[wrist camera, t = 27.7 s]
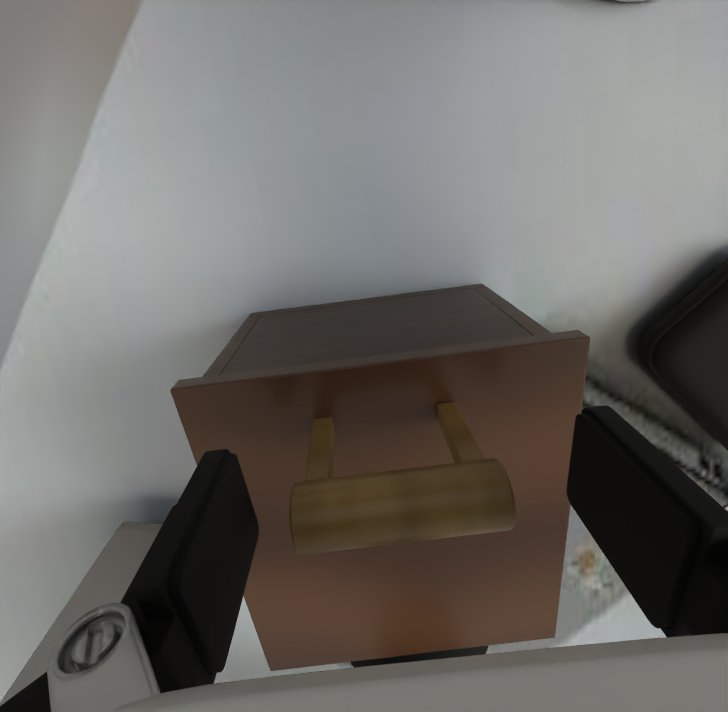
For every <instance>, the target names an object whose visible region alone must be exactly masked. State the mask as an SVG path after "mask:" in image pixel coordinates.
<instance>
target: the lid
mask: <svg viewBox="0 0 728 712" xmlns="http://www.w3.org/2000/svg"><path fill="white" fill-rule="evenodd" d="M589 343H590V337H589V336H587V335H586V334H584V333H582V332H581V331H579V330H574V331H566V332H558V333H550V334H542V335H534V336H526V337H518V338H510V339H502V340H494V341H486V342H478V343H470V344H463V345H455V346H447V347H439V348H431V349H423V350H415V351H407V352H399V353H391V354H383V355H375V356H367V357H359V358H351V359H343V360H335V361H327V362H319V363H311V364H303V365H295V366H287V367H279V368H271V369H263V370H255V371H247V372H239V373H231V374H223V375H215V376H207V377H199V378H191V379H183V380H179V381H177V383H176V384H175V385H174V386H173V387H172V388H171V394H172V397H173V399H174V402H175V405H176V408H177V411H178V413H179V416H180V419H181V422H182V425H183V427H184V430H185V433H186V436H187V439H188V441H189V444H190V447H191V450H192V453H193V455H194V458H195V461H196V464H197V466H198V464H199V462H200V460H201V458H202V456H203V455H204V453H205V452H207V451H213V450H221V449H228V450H229V451H230V453H231V454H233V453H234V454H236V455H237V457H238V460H239V463H240V467H241V470H242V473H243V476H244V479H245V482H246V486H247V489H248V492H249V495H250V498H251V501H252V504H253V508H254V511H255V514H256V517H257V520H258V524H259V537H258V541H257V545H256V548H255V552H254V556H253V560H252V564H251V568H250V571H249V575H248V579H247V583H246V587H245V591H244V598H245V601H246V604H247V606H248V609H249V612H250V615H251V618H252V620H253V623H254V626H255V629H256V632H257V634H258V637H259V640H260V643H261V646H262V648H263V651H264V654H265V657H266V660H267V662H268V665H269V668H270V670H271V671H274V670H283V669H291V668H300V667H308V666H317V665H325V664H334V663H342V662H351V661H359V660H368V659H376V658H385V657H393V656H402V655H410V654H419V653H427V652H436V651H444V650H453V649H461V648H470V647H478V646H487V645H495V644H504V643H512V642H521V641H529V640H538V639H546V638H554V637H555V632H556V623H557V615H558V606H559V598H560V589H561V581H562V572H563V564H564V555H565V547H566V538H567V530H568V521H569V513H570V502H569V500H568V497H567V492H566V488H567V480H568V472H569V464H570V457H571V449H572V441H573V433H574V426H575V419H576V416H577V415H578V414H581V411H582V402H583V394H584V385H585V377H586V368H587V360H588V351H589Z"/></svg>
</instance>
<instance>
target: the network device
mask: <svg viewBox="0 0 728 712" xmlns="http://www.w3.org/2000/svg"><path fill="white" fill-rule="evenodd" d="M162 525H163V524H158V523H144V522H129V521H125V522H123V523H122V524H121V525H120V526H119V527H118V528H117V530H116V531H115V533H114V534H113V536H112V537H111V539H110V540H109V542H108V543H107V545H106V546H105V548H104V549H103V551H102V552H101V554H100V555H99V557H98V558H97V560H96V561H95V563H94V564H93V565H92V567H91V568H90V570H89V571H88V573H87V574H86V576H85V577H84V579H83V580H82V582H81V583H80V585H79V586H78V588H77V589H76V591H75V592H74V594H73V595H72V597H71V598H70V600H69V601H68V603H67V604H66V606H65V607H64V609H63V610H62V612H61V613H60V615H59V616H58V618H57V619H56V621H55V622H54V624H53V625H52V626H51V628H50V629H49V631H48V632H47V634H46V635H45V637H44V638H43V640H42V641H41V643H40V644H39V646H38V647H37V649H36V650H35V652H34V653H33V655H32V656H31V658H30V659H29V661H28V662H27V664H26V665H25V667H24V668H23V670H22V671H21V673H20V674H19V676H18V677H17V679H16V680H15V682H14V683H13V685H12V686H11V687H10V689H9V690H8V692H7V693H6V695H5V696H4V698H3V699H2V701H1V702H0V706H1V705H2V704H4V703H5V702H6V701H8V700H9V699H10V698H12V697H13V696H14V695H16V694H17V693H18V692H20V691H21V690H22V689H24V688H25V687H26V686H28V685H29V684H31V683H32V682H33V681H35V680H36V679H37V678H39V677H40V676H41V675H43V674H44V673H45V672H47V665H48V658H49V656H50V654H51V652H52V649H53V647H54V645H55V644H56V643H57V641H58V640H59V638H60V637H61V635H62V634H63V633H64V632H65V631H66V630H67V629H68V628H69V627H70V626H71V625H72V624H73V623H74V622H75V621H76V620H78V619H79V618H80V617H82V616H83V615H84V614H86V613H87V612H89V611H91V610H93V609H95V608H97V607H99V606H102V605H105V604H109V603H120V602H121V600H122V598H123V596H124V595H125V593H126V591H127V589H128V587H129V585H130V584H131V582H132V580H133V578H134V576H135V574H136V573H137V571H138V569H139V567H140V565H141V563H142V562H143V560H144V558H145V556H146V554H147V552H148V551H149V549H150V547H151V545H152V543H153V541H154V540H155V538H156V536H157V534H158V532H159V530H160V529H161V527H162Z"/></svg>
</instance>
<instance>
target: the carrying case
mask: <svg viewBox="0 0 728 712" xmlns="http://www.w3.org/2000/svg"><path fill="white" fill-rule="evenodd" d="M637 355H638V360H639V363H640V364H641V366H642V367H643V369H644V370H645V371H646V372H647V373H648V374H649V375H650V376H651V377H652V378H653V379H654V380H655V381H656V382H657V383H659V384H660V385H661V386H662V387H663V388H664V389H665V390H666V391H667V392H668V393H669V394H670V395H671V396H672V397H673V398H674V399H675V400H676V401H677V402H678V403H679V404H680V405H681V406H682V407H683V408H684V409H685V410H687V411H688V412H689V413H690V414H691V415H692V416H693V417H694V418H695V419H696V420H697V421H698V422H699V423H700V424H701V425H702V426H703V427H704V428H705V429H706V430H707V431H708V432H709V433H710V434H711V435H712V436H713V437H714V438H715V439H716V440H717V441H718V442H719V443H720V444H721V445H723V446H724V447H725V448H726V449H727V450H728V259H727V260H726V261H725V262H724V263H722V264H721V265H720V266H719V267H718V268H717V269H716V270H714V271H713V272H712V273H711V274H710V275H709V276H708V277H707V278H705V279H704V280H703V281H702V282H701V283H700V284H699V285H698V286H696V287H695V288H694V289H693V290H692V291H691V292H690V293H689V294H687V295H686V296H685V297H684V298H683V299H682V300H681V301H679V302H678V303H677V304H676V305H675V306H674V307H673V308H672V309H670V310H669V311H668V312H667V313H666V314H665V315H664V316H663V317H661V318H660V319H659V320H658V321H657V322H656V323H655V324H654V325H652V326H651V327H650V328H649V329H648V330H647V331H646V332H645V333H644V334H643V336H642V338H641V339H640V341H639V344H638V352H637Z"/></svg>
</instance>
